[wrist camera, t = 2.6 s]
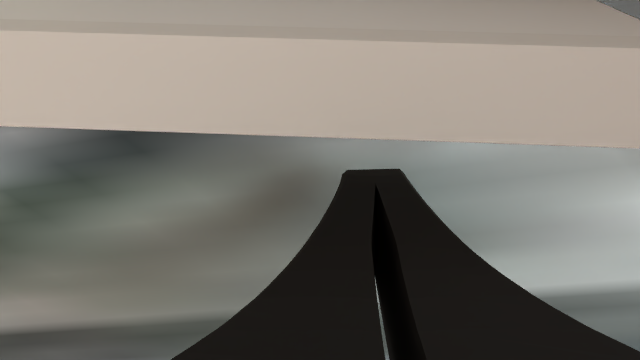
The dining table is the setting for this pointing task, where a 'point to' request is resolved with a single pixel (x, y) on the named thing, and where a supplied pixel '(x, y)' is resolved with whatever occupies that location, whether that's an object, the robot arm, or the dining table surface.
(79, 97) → the beige flat panel
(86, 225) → the dining table surface
